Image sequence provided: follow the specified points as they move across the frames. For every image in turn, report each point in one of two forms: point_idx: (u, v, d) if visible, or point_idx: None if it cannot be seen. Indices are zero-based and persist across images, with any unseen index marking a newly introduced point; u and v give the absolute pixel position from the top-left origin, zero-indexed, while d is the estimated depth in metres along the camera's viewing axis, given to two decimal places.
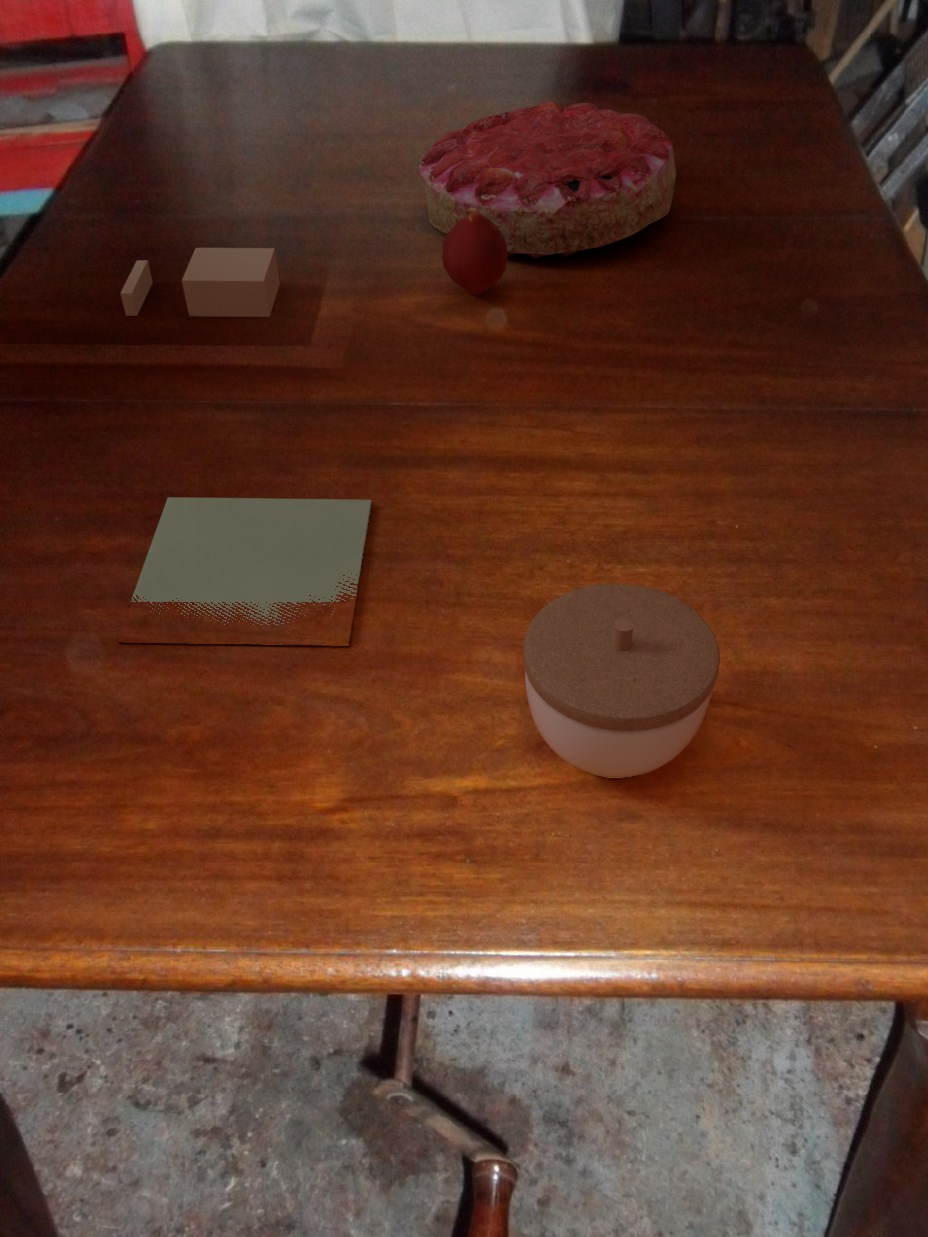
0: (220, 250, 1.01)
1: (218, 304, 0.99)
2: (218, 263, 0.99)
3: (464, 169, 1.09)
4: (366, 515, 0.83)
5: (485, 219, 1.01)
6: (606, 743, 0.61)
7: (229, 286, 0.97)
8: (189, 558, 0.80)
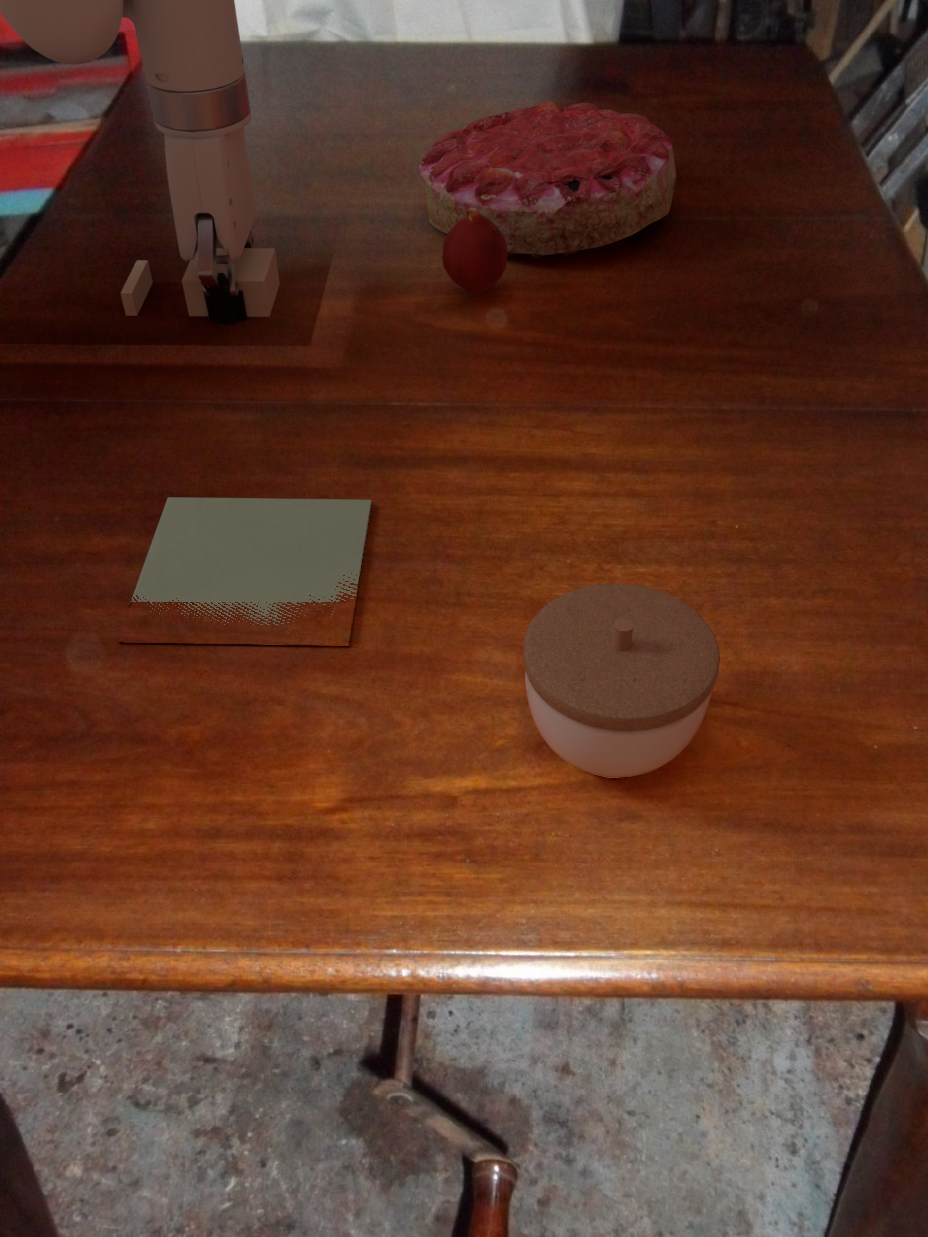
0: (220, 250, 1.01)
1: None
2: None
3: (464, 169, 1.09)
4: (366, 515, 0.83)
5: (485, 219, 1.01)
6: (606, 743, 0.61)
7: None
8: (189, 558, 0.80)
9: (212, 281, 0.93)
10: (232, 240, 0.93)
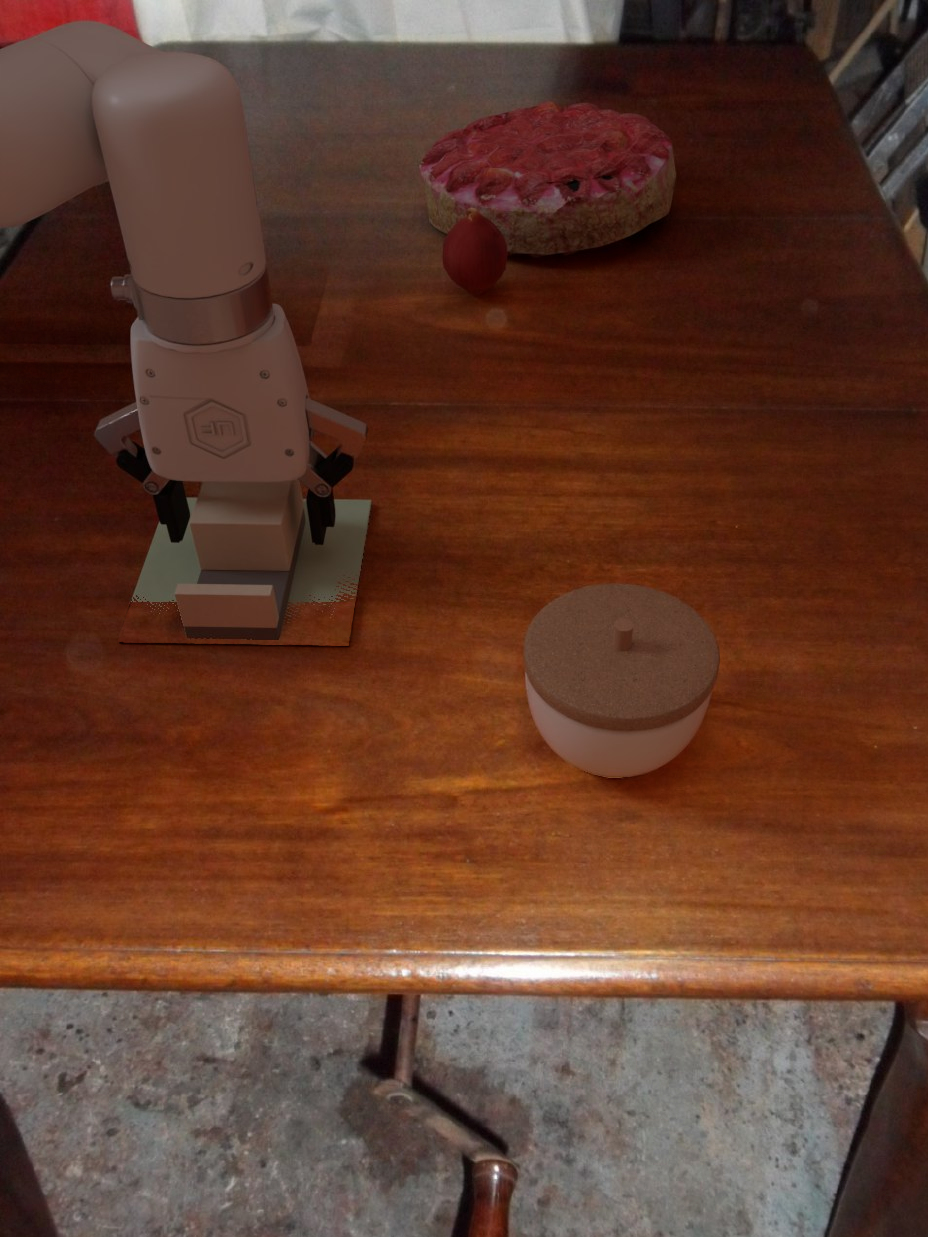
0: (204, 501, 0.76)
1: (292, 524, 0.77)
2: (242, 498, 0.76)
3: (464, 169, 1.09)
4: (366, 515, 0.83)
5: (485, 219, 1.01)
6: (606, 743, 0.61)
7: (291, 492, 0.77)
8: (189, 558, 0.80)
9: None
10: None
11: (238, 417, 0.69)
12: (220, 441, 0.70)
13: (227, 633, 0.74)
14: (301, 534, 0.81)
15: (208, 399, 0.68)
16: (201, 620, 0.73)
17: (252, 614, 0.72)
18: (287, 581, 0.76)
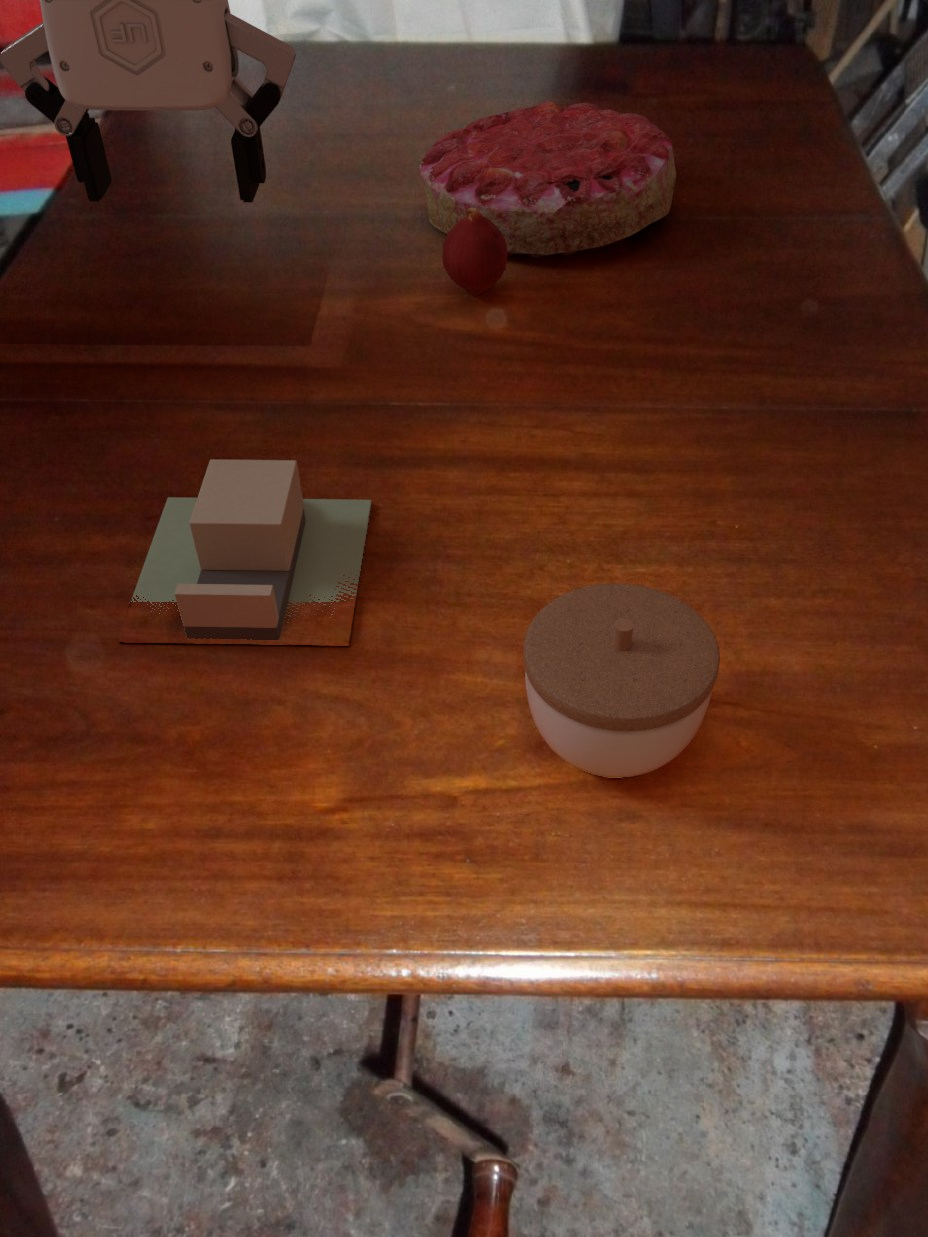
0: (204, 501, 0.76)
1: (292, 524, 0.77)
2: (242, 498, 0.76)
3: (464, 169, 1.09)
4: (366, 515, 0.83)
5: (485, 219, 1.01)
6: (606, 743, 0.61)
7: (291, 492, 0.77)
8: (189, 558, 0.80)
9: (290, 69, 0.68)
10: None
11: (149, 16, 0.64)
12: (132, 51, 0.65)
13: (227, 633, 0.74)
14: (301, 534, 0.81)
15: None
16: (201, 620, 0.73)
17: (252, 614, 0.72)
18: (287, 581, 0.76)
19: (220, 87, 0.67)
